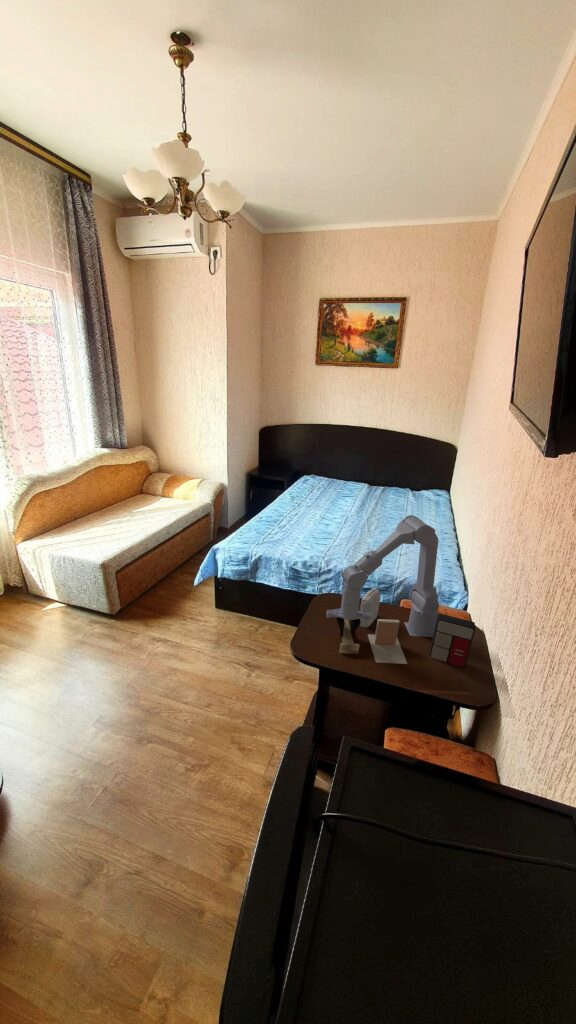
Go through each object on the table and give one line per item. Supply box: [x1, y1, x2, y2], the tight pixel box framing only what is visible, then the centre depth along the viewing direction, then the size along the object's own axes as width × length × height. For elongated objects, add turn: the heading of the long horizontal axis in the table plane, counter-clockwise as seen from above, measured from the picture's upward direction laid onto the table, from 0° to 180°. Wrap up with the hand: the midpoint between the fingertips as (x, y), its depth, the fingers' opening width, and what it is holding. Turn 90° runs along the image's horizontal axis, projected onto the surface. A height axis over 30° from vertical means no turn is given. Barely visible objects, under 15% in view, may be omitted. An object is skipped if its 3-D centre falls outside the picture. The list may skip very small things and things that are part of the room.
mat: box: [367, 633, 408, 665], centre depth 134 cm, size 10×14×1 cm
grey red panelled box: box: [428, 612, 476, 668], centre depth 129 cm, size 11×4×15 cm, turn 68°
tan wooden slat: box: [338, 619, 360, 655], centre depth 137 cm, size 6×16×4 cm, turn 0°
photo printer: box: [359, 588, 381, 629], centre depth 146 cm, size 10×4×12 cm, turn 145°
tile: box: [374, 618, 401, 645], centre depth 135 cm, size 7×2×9 cm, turn 90°
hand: (345, 635), depth 138 cm, fingers closed on tan wooden slat, 2 cm apart
